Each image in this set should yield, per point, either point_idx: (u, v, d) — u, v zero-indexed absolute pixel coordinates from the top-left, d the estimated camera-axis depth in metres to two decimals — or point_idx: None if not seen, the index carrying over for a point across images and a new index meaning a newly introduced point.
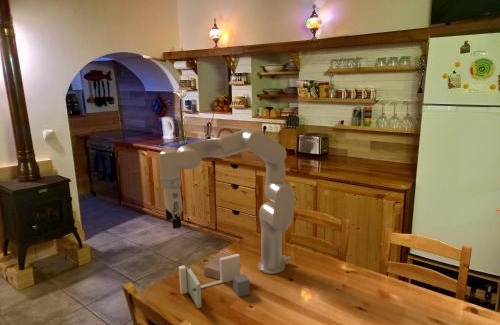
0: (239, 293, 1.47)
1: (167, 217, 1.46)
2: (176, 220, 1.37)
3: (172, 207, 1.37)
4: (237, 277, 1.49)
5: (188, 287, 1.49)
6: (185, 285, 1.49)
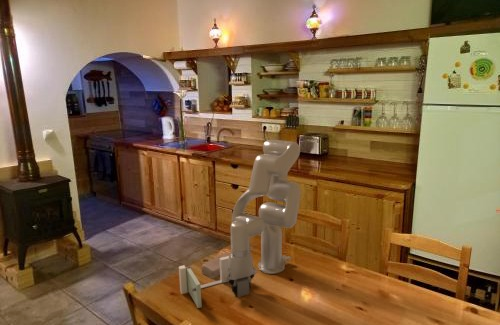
0: (239, 293, 1.47)
1: (236, 291, 1.47)
2: None
3: None
4: None
5: (188, 287, 1.49)
6: (185, 285, 1.49)
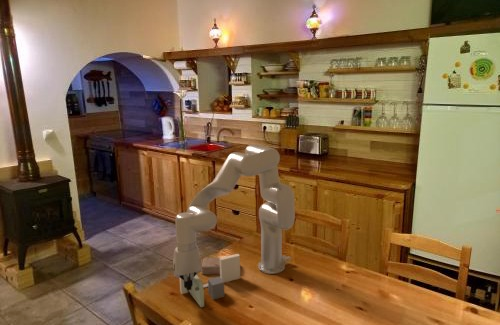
0: (214, 296, 1.45)
1: None
2: None
3: None
4: (212, 279, 1.48)
5: None
6: None
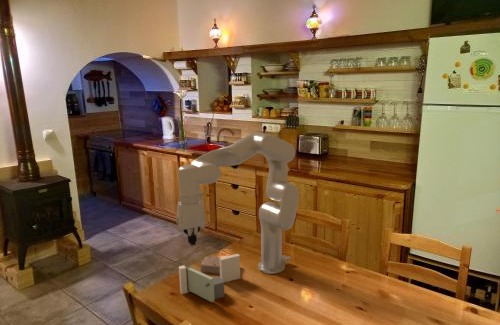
0: (214, 296, 1.45)
1: (192, 242, 1.37)
2: None
3: None
4: None
5: (190, 287, 1.49)
6: (185, 285, 1.49)
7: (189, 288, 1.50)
